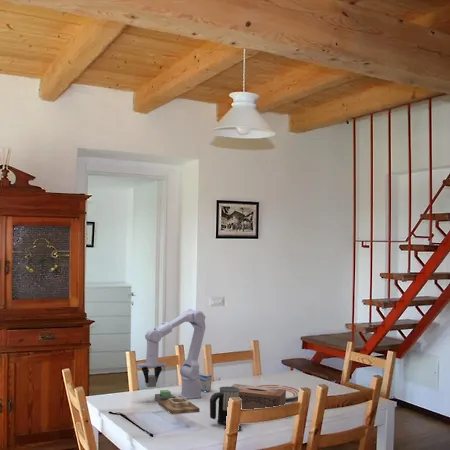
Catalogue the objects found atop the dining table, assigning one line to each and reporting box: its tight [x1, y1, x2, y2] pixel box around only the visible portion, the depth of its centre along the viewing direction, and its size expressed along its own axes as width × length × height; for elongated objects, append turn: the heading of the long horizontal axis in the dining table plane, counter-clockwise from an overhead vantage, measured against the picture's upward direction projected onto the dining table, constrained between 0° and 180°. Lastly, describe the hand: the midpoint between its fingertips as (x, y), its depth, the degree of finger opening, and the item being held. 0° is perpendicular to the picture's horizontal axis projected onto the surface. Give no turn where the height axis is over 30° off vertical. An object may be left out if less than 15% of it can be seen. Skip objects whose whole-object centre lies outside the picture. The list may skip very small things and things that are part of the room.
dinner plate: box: [256, 383, 300, 401], centre depth 306 cm, size 27×27×3 cm
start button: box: [159, 389, 172, 397], centre depth 287 cm, size 4×4×2 cm
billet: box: [145, 374, 157, 388], centre depth 284 cm, size 4×4×5 cm
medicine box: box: [197, 372, 213, 393], centre depth 311 cm, size 8×4×9 cm, turn 62°
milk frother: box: [209, 386, 242, 429], centre depth 251 cm, size 14×16×15 cm
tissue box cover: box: [230, 383, 287, 409], centre depth 277 cm, size 26×14×10 cm, turn 74°
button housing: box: [154, 393, 177, 403], centre depth 287 cm, size 8×8×2 cm
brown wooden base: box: [158, 397, 200, 415], centre depth 275 cm, size 14×18×4 cm
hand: (151, 382), depth 284 cm, fingers closed on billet, 4 cm apart
